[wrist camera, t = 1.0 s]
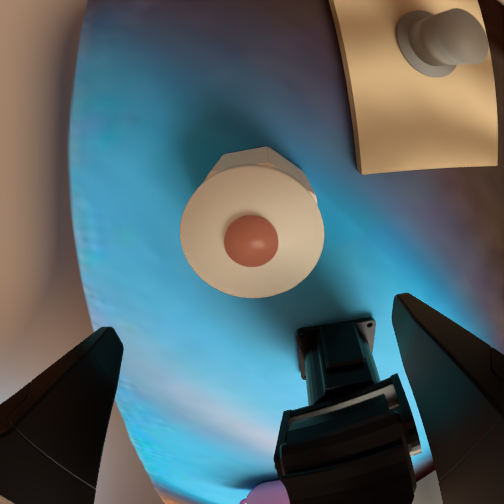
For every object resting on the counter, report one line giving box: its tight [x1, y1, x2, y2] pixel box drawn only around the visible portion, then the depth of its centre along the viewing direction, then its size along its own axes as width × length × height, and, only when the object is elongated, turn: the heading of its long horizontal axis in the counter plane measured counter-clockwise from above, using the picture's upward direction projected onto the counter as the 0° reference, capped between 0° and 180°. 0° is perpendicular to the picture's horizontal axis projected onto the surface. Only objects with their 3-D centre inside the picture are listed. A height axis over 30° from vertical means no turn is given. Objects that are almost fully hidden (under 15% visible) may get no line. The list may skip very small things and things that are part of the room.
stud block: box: [329, 0, 498, 175], centre depth 10 cm, size 16×11×5 cm
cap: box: [180, 146, 324, 298], centre depth 16 cm, size 7×7×6 cm
